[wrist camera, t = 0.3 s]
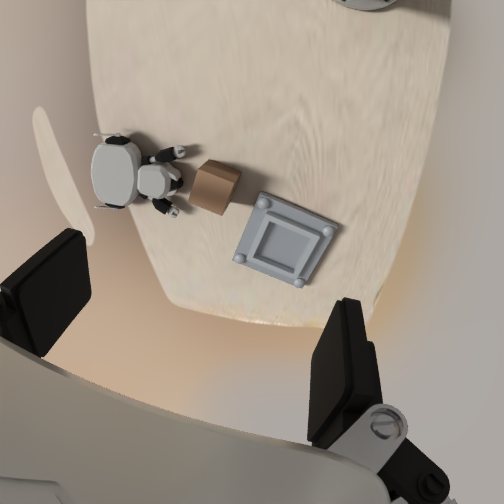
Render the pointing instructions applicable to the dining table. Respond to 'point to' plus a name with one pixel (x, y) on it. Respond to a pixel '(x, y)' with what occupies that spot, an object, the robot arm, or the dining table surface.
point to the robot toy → (134, 174)
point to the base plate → (283, 240)
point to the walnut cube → (214, 187)
